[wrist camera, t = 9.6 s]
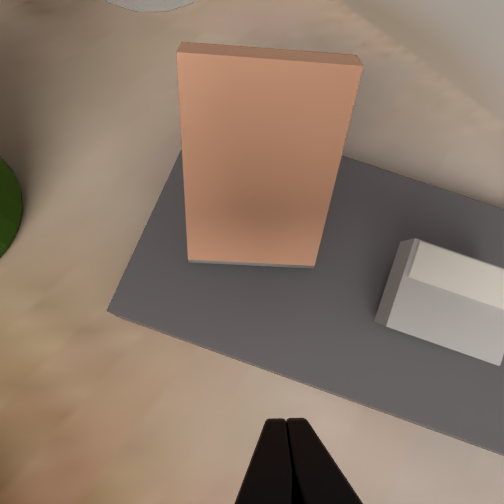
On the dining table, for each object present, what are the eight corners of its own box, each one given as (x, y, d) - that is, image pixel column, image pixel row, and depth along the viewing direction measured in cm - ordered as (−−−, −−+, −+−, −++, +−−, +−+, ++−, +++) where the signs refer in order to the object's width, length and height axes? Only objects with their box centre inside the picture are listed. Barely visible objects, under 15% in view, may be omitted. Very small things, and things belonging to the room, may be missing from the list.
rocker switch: (476, 357, 18) (502, 367, 16) (373, 321, 18) (387, 326, 17) (501, 276, 18) (530, 276, 16) (400, 241, 19) (416, 237, 17)
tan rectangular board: (312, 273, 19) (363, 66, 13) (188, 267, 19) (176, 51, 12) (309, 257, 20) (356, 54, 14) (191, 251, 20) (181, 41, 13)
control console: (677, 518, 19) (773, 548, 16) (117, 316, 20) (96, 305, 17) (675, 288, 23) (753, 272, 19) (202, 130, 24) (198, 90, 20)
